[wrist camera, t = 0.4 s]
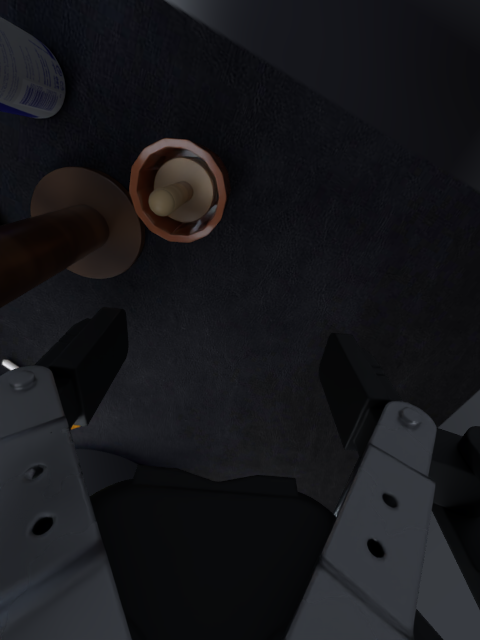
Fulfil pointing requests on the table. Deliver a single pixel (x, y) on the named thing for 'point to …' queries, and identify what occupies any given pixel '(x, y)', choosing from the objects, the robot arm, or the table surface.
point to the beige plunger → (184, 189)
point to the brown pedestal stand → (70, 232)
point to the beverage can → (28, 75)
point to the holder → (144, 186)
